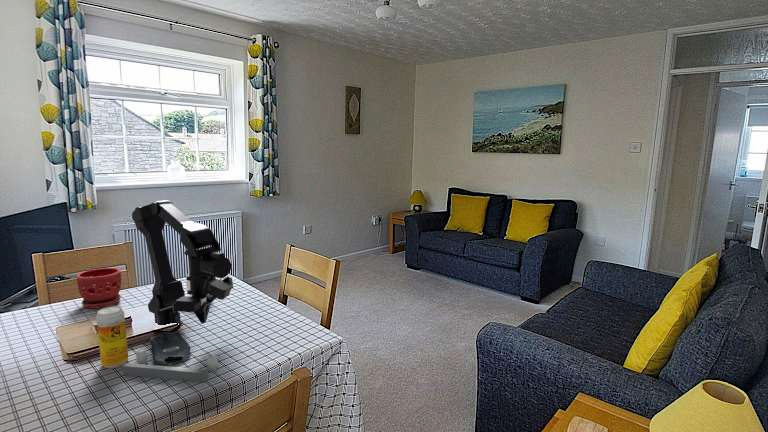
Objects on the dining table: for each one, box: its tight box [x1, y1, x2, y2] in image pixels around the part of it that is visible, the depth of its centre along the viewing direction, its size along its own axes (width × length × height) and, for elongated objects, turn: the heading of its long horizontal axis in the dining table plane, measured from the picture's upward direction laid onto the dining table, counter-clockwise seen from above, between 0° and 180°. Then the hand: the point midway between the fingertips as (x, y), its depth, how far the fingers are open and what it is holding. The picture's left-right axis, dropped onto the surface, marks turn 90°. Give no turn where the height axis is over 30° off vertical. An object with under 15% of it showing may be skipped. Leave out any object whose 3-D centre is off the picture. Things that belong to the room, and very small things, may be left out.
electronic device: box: [149, 330, 191, 367], centre depth 115 cm, size 9×6×15 cm
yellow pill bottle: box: [96, 305, 129, 369], centre depth 108 cm, size 6×6×15 cm
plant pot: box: [76, 267, 122, 309], centre depth 148 cm, size 13×13×12 cm
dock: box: [121, 348, 219, 383], centre depth 106 cm, size 22×7×4 cm, turn 83°
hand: (203, 322), depth 120 cm, fingers closed
